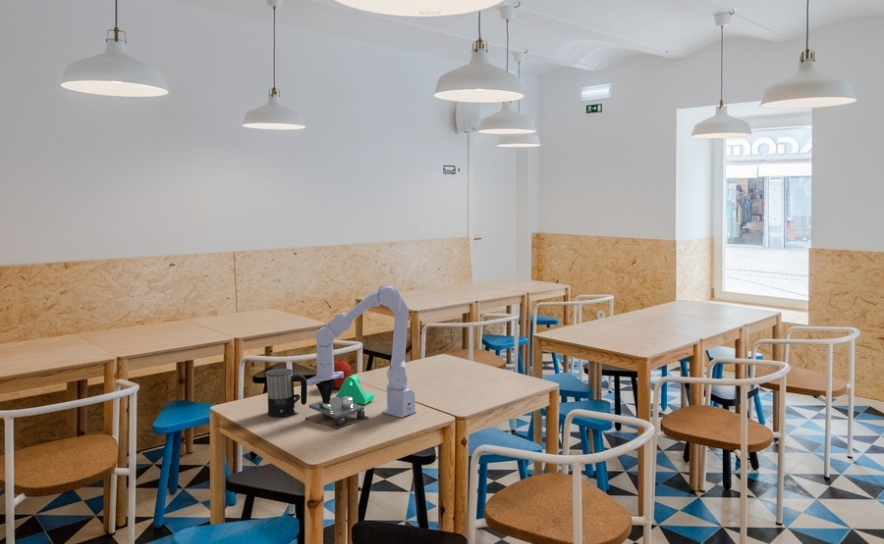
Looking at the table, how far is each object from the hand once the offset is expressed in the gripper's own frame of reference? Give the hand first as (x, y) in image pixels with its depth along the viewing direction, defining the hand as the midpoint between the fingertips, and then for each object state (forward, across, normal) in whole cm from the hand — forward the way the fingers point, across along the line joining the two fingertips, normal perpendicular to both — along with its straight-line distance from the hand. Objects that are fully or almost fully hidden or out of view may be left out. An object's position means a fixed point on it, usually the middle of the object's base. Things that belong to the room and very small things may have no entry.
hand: (326, 402), depth 226 cm
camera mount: (+5, -17, -4) cm, 19 cm away
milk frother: (+5, +5, -17) cm, 19 cm away
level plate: (+1, 0, +5) cm, 5 cm away
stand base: (+5, 0, +5) cm, 7 cm away
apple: (+5, -26, -24) cm, 36 cm away
